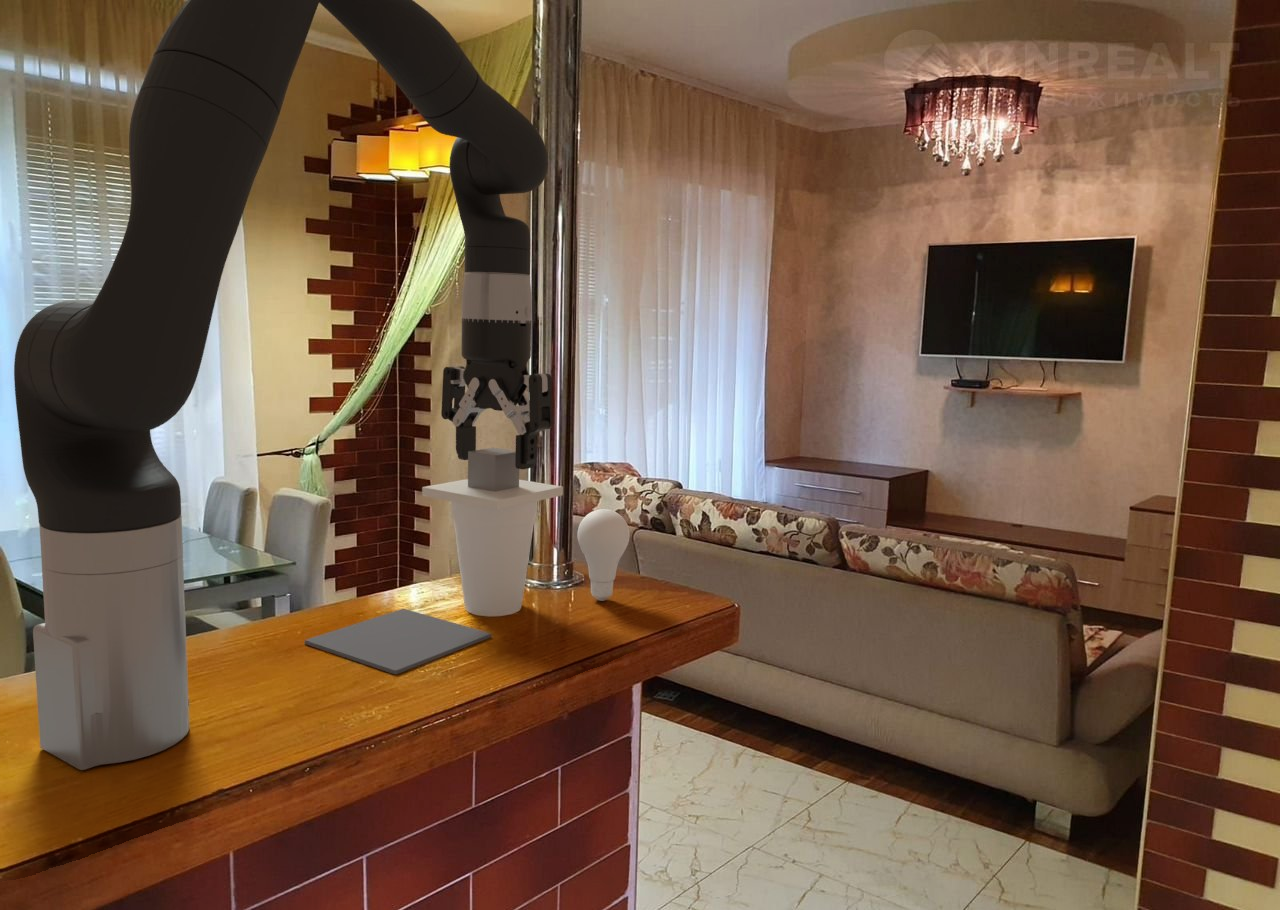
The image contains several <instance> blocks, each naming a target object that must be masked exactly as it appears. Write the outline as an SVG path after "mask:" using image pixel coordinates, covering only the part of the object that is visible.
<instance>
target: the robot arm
mask: <svg viewBox="0 0 1280 910" xmlns="http://www.w3.org/2000/svg"><path fill="white" fill-rule="evenodd" d="M319 4H320V5H321V6H322V7H323V8H324V9H326V11H328V13H329V14H331V15H332V17H334V18H335V19H336V20H337V21H338V22H339V23H340V24H341V25H342V26H343V27H344V28H345V29H346V30H347V31H348V32H349V33H351V34H352V36H353V37H354V38H355V39H356V40H357V41H358V42H359V43H360V44H361V45H362V46H363V47H364V48H365V49H366V50H367V51H368V52H369V53H370V54H371V56H372V57H373V58H374V59H375V60H376V61H377V63H378V64H379V65H380V66H381V67H382V68H383V69H384V70H385V72H386V73H387V74H388V76H390V78H391V79H392V80H393V81H394V83H395V85H397V86H398V88H399V89H400V91H401V92H402V93H403V94H404V96H405V97H406V98H407V99H408V101H409V102H410V103H411V104H412V106H413V107H414V108H415V109H416V110H417V112H418V113H419V114H420V116H421V117H422V118H423V119H424V121H426V123H427V124H428V125H429V126H430V127H431V128H432V129H433V130H435V131H436V132H438V133H439V134H442V135H444V136H450V137H456V138H455V140H454V142H453V144H452V147H451V151H450V155H449V175H450V180H451V184H452V188H453V193H454V196H455V200H456V205H457V210H458V213H459V218H460V220H461V223H462V224H461V226H462V229H463V234H464V275H463V276H464V278H463V284H462V285H463V286H462V293H461V357H462V358H463V359H464V360H466V365H465V366H463V365H462V366H460V365H459V366H445V367H443V368H444V369H443V372H442V393H441V412H440V413H441V418H442V419H444V420H449V421H450V422H451V423H453V425H454V427H455V451H456V454H457V458H458V459H459V460H462V461H468V451H474V450H477V427H476V426H475V425H474V424H476V422H477V420H478V418H479V417H480V415H481V414H482V413H483V412H485V411H486V410H488V409H492V410H493V411H498V412H501V411H502V412H503V413H504V415H505V416H506V418H508V419H510V421H511V422H512V424H513V426H514V428H515V430H516V432H517V433H518V434H516V435H515V451H516V455H515V466H516V468H517V469H519V470H527V469H532V468H533V466H534V464H535V462H536V460H537V436H538V434H539V432H542V431H545V430H550V429H552V428H553V425H554V416H553V415H554V414H553V413H554V412H553V405H554V404H553V379H552V378H553V377H552V376H551V374H550V373H533V374H530V373H529V370H528V362H529V360H530V359H531V358H532V315H533V313H532V312H533V311H532V310H533V307H532V306H533V305H532V304H533V295H532V285H531V276H530V275H531V232H530V231H531V230H530V228H529V226H528V224H527V223H525V221H523V220H521V219H518V218H515V217H511V216H507V215H506V214H505V211H504V207H503V205H502V204H503V203H502V200H501V195H514V194H515V195H516V194H526V193H529V192H533V191H534V190H536V189H538V188H539V187H540V186H541V185H542V183H543V182H544V180H545V179H546V177H547V174H548V169H549V158H548V157H549V156H548V151H547V148H546V144H545V142H544V140H543V138H542V136H541V135H540V133H539V131H538V129H537V128H536V126H534V124H533V123H532V122H531V121H530V120H529V119H528V118H527V117H526V116H525V115H524V114H523V113H522V112H520V111H519V109H517V108H516V107H515V106H513V105H512V104H511V102H509V101H508V100H507V99H506V98H505V97H504V96H503V95H501V94H500V93H499V92H498V91H496V90H495V89H494V88H492V86H490V85H489V84H487V83H486V82H485V81H484V79H483V78H482V77H481V75H480V74H479V72H478V70H477V69H476V67H475V66H474V65H473V63H472V62H471V61H470V59H469V58H468V56H467V55H466V54H465V52H464V51H463V49H462V48H461V46H460V45H459V43H458V42H457V40H455V38H454V37H453V36H452V34H451V32H450V31H448V29H447V28H445V26H444V25H443V24H442V23H441V22H440V21H439V20H438V19H437V18H436V17H435V16H434V15H432V14H431V13H430V12H429V11H428V10H427V9H426V8H424V7H422V6H421V5H420V4H419V3H417V2H416V1H415V0H187V1H185V3H184V5H183V6H182V7H181V8H180V10H179V11H178V12H177V14H176V16H175V17H174V18H173V20H172V21H171V23H170V24H169V26H168V27H167V28H166V30H165V32H164V33H163V35H162V37H161V38H160V41H159V42H158V44H157V46H156V48H155V51H154V53H153V56H152V58H151V62H150V63H149V66H148V69H147V72H146V74H145V77H144V79H143V82H142V84H141V87H140V90H139V92H138V94H137V97H136V100H135V103H134V106H133V109H132V113H131V117H130V122H129V123H130V124H129V131H128V132H129V135H128V157H129V160H128V161H129V174H130V188H131V190H130V192H131V195H130V199H131V200H130V207H129V208H130V210H129V216H128V222H127V225H126V229H125V232H124V235H123V238H122V242H121V244H120V247H119V249H118V251H117V252H116V255H115V258H114V261H113V263H112V266H111V268H110V270H109V273H108V274H107V276H106V278H105V281H104V282H103V285H102V287H101V289H100V290H99V293H97V295H96V298H95V299H71V300H64V301H59V302H57V303H53V304H50V305H48V306H46V307H44V308H43V309H41V310H40V311H38V312H37V313H35V314H34V315H33V317H31V318H30V320H28V322H27V323H26V325H25V326H24V328H23V329H22V332H21V333H20V335H19V338H18V342H17V343H16V348H15V354H14V364H13V377H14V378H13V380H14V395H15V404H16V414H17V423H18V425H17V426H18V432H19V434H18V435H19V440H20V441H19V442H20V451H21V460H22V461H21V462H22V466H23V467H22V468H23V472H24V476H25V479H26V482H27V484H28V486H29V489H30V491H31V493H32V494H33V497H34V499H35V503H36V507H37V508H36V509H37V516H38V518H37V519H38V524H39V537H40V539H39V540H40V541H39V542H40V555H41V557H40V558H41V559H40V560H41V574H42V575H41V576H42V591H43V592H42V593H43V608H44V611H43V612H44V622H42V623H38V624H36V625H35V626H33V629H32V636H33V638H32V639H33V650H34V651H33V653H34V669H35V682H36V683H35V684H36V685H35V687H36V700H37V715H38V716H37V717H38V730H39V731H38V732H39V746H40V747H39V748H41V749H42V750H44V751H46V752H48V753H49V754H51V755H53V756H54V757H57V758H58V759H60V760H62V761H64V762H65V763H66V764H69V765H70V766H71V767H74V768H76V769H77V770H80V771H85V770H89V769H90V768H93V767H94V768H95V767H97V766H102V765H109V764H117V763H122V762H124V763H125V762H128V761H129V762H130V761H134V760H139V759H141V758H144V757H148V756H151V755H154V754H158V753H161V752H162V751H165V750H166V749H169V748H170V747H173V746H174V745H176V744H178V743H179V742H180V741H181V740H183V739H184V737H186V736H187V735H188V732H189V730H190V712H189V710H190V709H189V708H190V699H189V681H188V680H189V679H188V678H189V677H188V658H187V657H188V655H187V653H188V652H187V650H188V649H187V630H186V629H187V628H186V627H187V626H186V625H187V624H186V604H185V603H186V601H185V600H186V599H185V598H186V597H185V577H184V576H185V575H184V574H185V573H184V548H183V547H184V546H183V526H182V525H183V523H182V522H183V521H182V517H183V516H182V501H181V500H182V499H181V497H182V496H181V488H180V483H179V482H178V480H177V478H176V477H175V476H174V475H173V473H171V471H170V470H169V469H168V468H167V467H166V466H165V465H164V464H163V462H162V461H161V460H160V457H159V456H158V454H157V452H156V451H155V450H156V449H155V448H154V445H153V441H152V436H151V430H154V429H156V428H158V427H160V426H162V425H165V424H166V423H167V422H169V421H170V420H171V419H172V418H174V417H175V416H176V415H177V414H178V412H180V410H181V409H182V408H183V406H184V405H185V404H186V402H187V401H188V399H189V397H190V395H191V393H192V391H193V388H194V386H195V384H196V381H197V378H198V375H199V372H200V369H201V364H202V360H203V356H204V351H205V348H206V344H207V339H208V335H209V331H210V326H211V322H212V317H213V313H214V308H215V304H216V301H217V297H218V296H217V295H218V291H219V287H220V283H221V280H222V279H221V278H222V275H223V272H224V269H225V266H226V261H227V259H228V256H229V253H230V250H231V249H232V245H233V242H234V240H235V237H236V234H237V231H238V230H239V229H238V228H239V225H240V223H241V220H242V216H243V214H244V211H245V208H246V205H247V202H248V199H249V196H250V193H251V190H252V187H253V184H254V182H255V179H256V176H257V174H258V171H259V169H260V167H261V166H262V162H263V160H264V157H265V155H266V152H267V150H268V148H269V144H270V143H271V142H270V141H271V139H272V136H273V134H274V131H275V128H276V124H277V122H278V119H279V117H280V114H281V111H282V108H283V105H284V101H285V98H286V94H287V91H288V87H289V84H290V82H291V79H292V77H293V74H294V71H295V68H296V66H297V63H298V61H299V58H300V56H301V53H302V51H303V47H304V45H305V42H306V40H307V37H308V34H309V31H310V29H311V26H312V23H313V20H314V17H315V14H316V12H317V9H318V6H319ZM466 387H467V390H466ZM526 392H528V395H527V393H526Z"/></svg>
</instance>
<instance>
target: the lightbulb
mask: <svg viewBox="0 0 1280 910" xmlns="http://www.w3.org/2000/svg"><path fill="white" fill-rule="evenodd" d="M576 535H577V541H578V542H577V543H578V545H579V547H580V550H581V552H582V553H583V555H584V557H585V560H586V563H587V568H588V577H589V579H590V594H591V595H592V597H593V598H595V599H596V600H597V601H599V602H603V601H606V600H607V599H609V598H611V597H612V596H613V592H614V591H613V590H614V580H616V576H617V575H616V574H617V569H618V564H619V563H620V560H621V557H622V556H623V555H624V553H625V551H626V549H627V547H628V545H629V541H630V538H631V537H630V528H629V525H628V523H627V521H626V519H625V518H624V517H623V516H622V515H621V514H619V512H616V511H615V510H613V509H608V508H599V509H595V510H593V511H591V512H589V513H588V514H586V515H585V516H584V517H583V518H582V520H581V522H580V523H579V525H578V528H577V534H576Z"/></svg>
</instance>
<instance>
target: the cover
mask: <svg viewBox="0 0 1280 910" xmlns="http://www.w3.org/2000/svg"><path fill="white" fill-rule="evenodd" d="M515 455H516V450H511V449H503V448H497V447H496V448H495V447H488V448H483V449H482V448H481V449H476V450H474V451H468V460H467V478H465V479H459V480H454V481H449V482H444V483H438V484H433V485H426V486H422V488H421V493H422V495H421V496H422V497H425V498H430V499H435V500H441V501H442V500H443V501H447V502H457V503H462V504H467V505H472V506H478V507H483V508H488V509H494V510H500V509H504V508H509V507H513V506H518V505H522V504H526V503H531V502H535V501H537V502H539V501H543V500H544V501H545V500H548V499H552V498H558V497H561V496H564V486H563V485H562V486H561V485H555V484H549V483H542V482H537V481H532V480H531V481H530V480H526V479H525V480H524V479H520V469H517V468H516V466H515Z"/></svg>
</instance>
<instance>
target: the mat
mask: <svg viewBox="0 0 1280 910" xmlns="http://www.w3.org/2000/svg"><path fill="white" fill-rule="evenodd" d="M490 638H492V633H491V632H488V631H484V630H481V629H478V628H473V627H471V626H466V625H464V624H463V625H462V624H460V623H456V622H453V621H449V620H444V619H441V618H438V617H435V616H431V615H428V614H424V613H421V612H417V611H415V610H414V611H413V610H410V609H406V608H402V609H398V610H395V611H391V612H389V613H386V614H383V615H379V616H377V617H376V616H375V617H372V618H370V619H367V620H364V621H360V622H357V623H354V624H350V625H347V626H345V627H341V628H338V629H335V630H333V631H329V632H325V633H323V634H320V635H316V636H313V637H310V638H307V639H304V645H306V646H310V647H312V648H316V649H318V650H321V651H323V652H327V653H331V654H333V655H336V656H339V657H342V658H346V659H349V660H351V661H354V662H356V663H360V664H363V665H366V666H370V667H372V668H374V669H378V670H381V671H383V672H387V673H389V674H392V675H395V676H397V675H399V674H402V673H404V672H406V671H409V670H412V669H415V668H417V667H419V666H422V665H425V664H428V663H430V662H432V661H434V660H437V659H439V658H441V657H445V656H448V655H450V654H452V653H455V652H458V651H460V650H462V649H465V648H467V647H469V646H474V645H475V644H478V643H480V642H482V641H483V642H484V641H486V640H489V639H490Z"/></svg>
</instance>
